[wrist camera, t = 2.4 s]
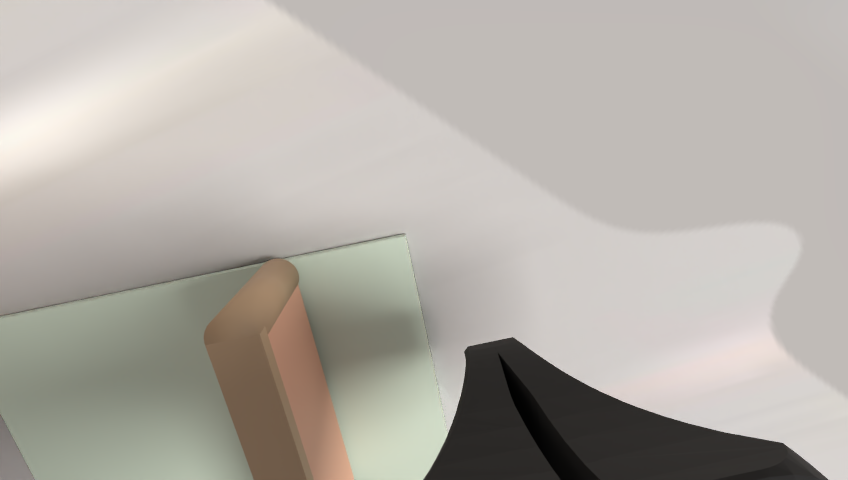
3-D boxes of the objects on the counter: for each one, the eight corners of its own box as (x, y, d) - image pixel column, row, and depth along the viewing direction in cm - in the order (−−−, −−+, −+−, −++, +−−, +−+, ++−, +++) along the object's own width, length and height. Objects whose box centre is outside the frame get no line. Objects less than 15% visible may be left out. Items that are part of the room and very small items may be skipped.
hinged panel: (293, 254, 13) (251, 309, 9) (356, 477, 16) (344, 595, 12) (253, 263, 13) (195, 320, 9) (323, 484, 15) (299, 605, 12)
